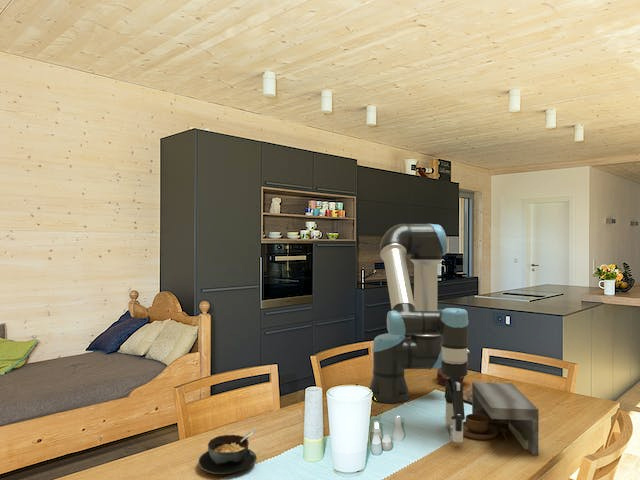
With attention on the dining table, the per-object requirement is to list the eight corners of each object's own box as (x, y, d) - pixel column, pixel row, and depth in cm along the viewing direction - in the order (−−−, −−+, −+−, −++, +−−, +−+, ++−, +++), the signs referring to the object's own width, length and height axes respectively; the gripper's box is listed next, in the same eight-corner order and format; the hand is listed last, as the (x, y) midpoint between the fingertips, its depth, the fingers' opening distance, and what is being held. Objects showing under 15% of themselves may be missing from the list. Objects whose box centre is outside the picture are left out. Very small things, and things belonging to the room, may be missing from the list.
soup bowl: (197, 455, 137) (197, 427, 137) (256, 449, 141) (256, 422, 141) (198, 480, 123) (199, 449, 123) (264, 472, 127) (264, 443, 127)
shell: (474, 394, 193) (475, 384, 193) (501, 403, 182) (502, 393, 182) (452, 397, 187) (453, 387, 187) (479, 407, 176) (479, 397, 176)
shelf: (491, 453, 138) (491, 407, 138) (472, 420, 164) (472, 382, 164) (538, 455, 137) (538, 409, 137) (511, 422, 162) (512, 383, 163)
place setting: (448, 439, 149) (448, 419, 149) (443, 415, 168) (443, 398, 168) (510, 443, 146) (511, 422, 146) (498, 419, 165) (498, 401, 165)
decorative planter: (480, 389, 198) (480, 354, 198) (454, 393, 193) (454, 356, 194) (450, 376, 216) (450, 344, 217) (426, 379, 212) (426, 346, 212)
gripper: (476, 372, 137) (475, 450, 137) (459, 352, 162) (459, 418, 162) (448, 371, 138) (447, 449, 138) (436, 351, 163) (435, 417, 163)
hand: (453, 432), depth 150 cm, fingers open, 13 cm apart
